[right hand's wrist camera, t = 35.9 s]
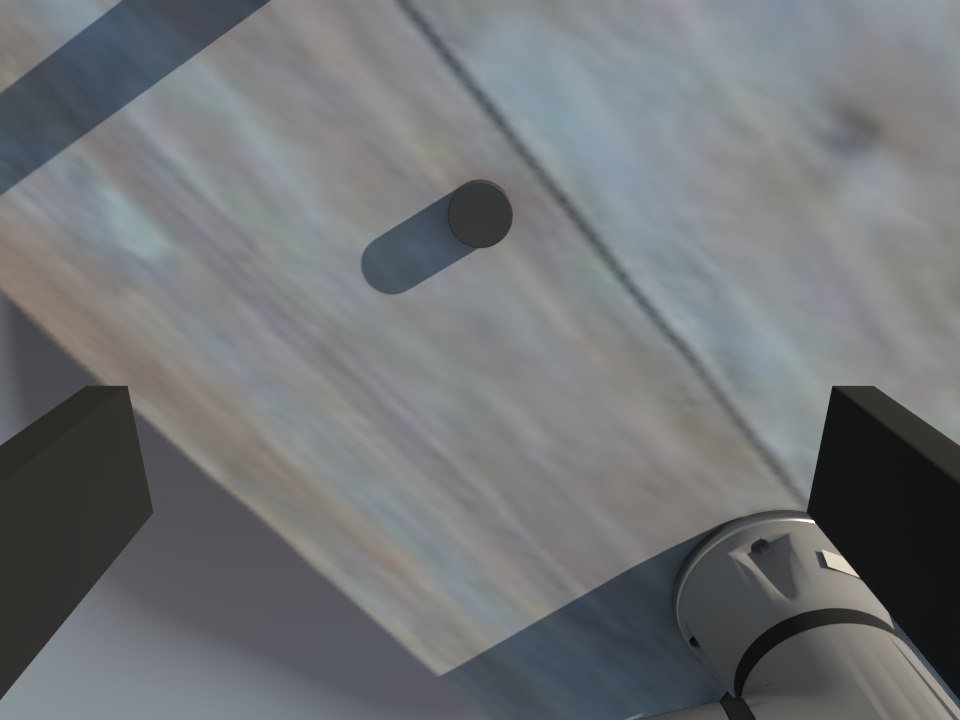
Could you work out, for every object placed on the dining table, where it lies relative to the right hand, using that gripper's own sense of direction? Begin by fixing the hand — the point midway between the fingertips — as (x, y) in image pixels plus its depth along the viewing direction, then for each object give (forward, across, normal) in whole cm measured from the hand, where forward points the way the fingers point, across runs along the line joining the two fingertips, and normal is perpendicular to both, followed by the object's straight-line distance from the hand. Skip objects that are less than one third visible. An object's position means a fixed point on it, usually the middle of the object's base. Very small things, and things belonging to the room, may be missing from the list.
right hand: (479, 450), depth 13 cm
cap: (+30, 0, 0) cm, 30 cm away
